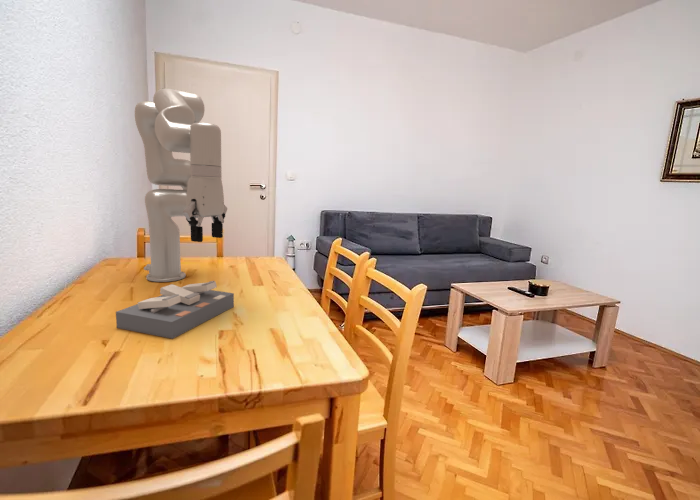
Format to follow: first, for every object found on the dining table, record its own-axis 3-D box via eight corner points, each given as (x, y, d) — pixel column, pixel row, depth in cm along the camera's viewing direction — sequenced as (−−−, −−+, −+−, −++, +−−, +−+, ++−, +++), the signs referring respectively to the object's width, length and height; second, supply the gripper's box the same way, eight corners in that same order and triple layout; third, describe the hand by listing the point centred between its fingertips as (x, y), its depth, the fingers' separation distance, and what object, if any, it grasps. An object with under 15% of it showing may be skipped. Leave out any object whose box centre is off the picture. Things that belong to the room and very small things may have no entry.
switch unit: (116, 327, 87) (115, 308, 87) (187, 299, 110) (186, 283, 109) (172, 338, 83) (171, 318, 82) (233, 306, 106) (233, 290, 105)
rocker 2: (159, 293, 95) (160, 286, 94) (171, 289, 99) (172, 283, 98) (188, 305, 93) (189, 298, 92) (199, 300, 97) (200, 294, 96)
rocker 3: (180, 293, 102) (179, 286, 102) (190, 289, 106) (189, 283, 105) (207, 290, 99) (206, 284, 99) (216, 287, 103) (215, 280, 103)
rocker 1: (139, 309, 89) (137, 301, 88) (152, 304, 92) (150, 296, 92) (168, 306, 86) (167, 298, 86) (181, 301, 90) (179, 294, 89)
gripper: (214, 173, 105) (215, 234, 108) (169, 170, 89) (172, 242, 92) (237, 174, 103) (237, 236, 106) (196, 172, 87) (197, 245, 90)
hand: (207, 239), depth 99 cm, fingers open, 7 cm apart
